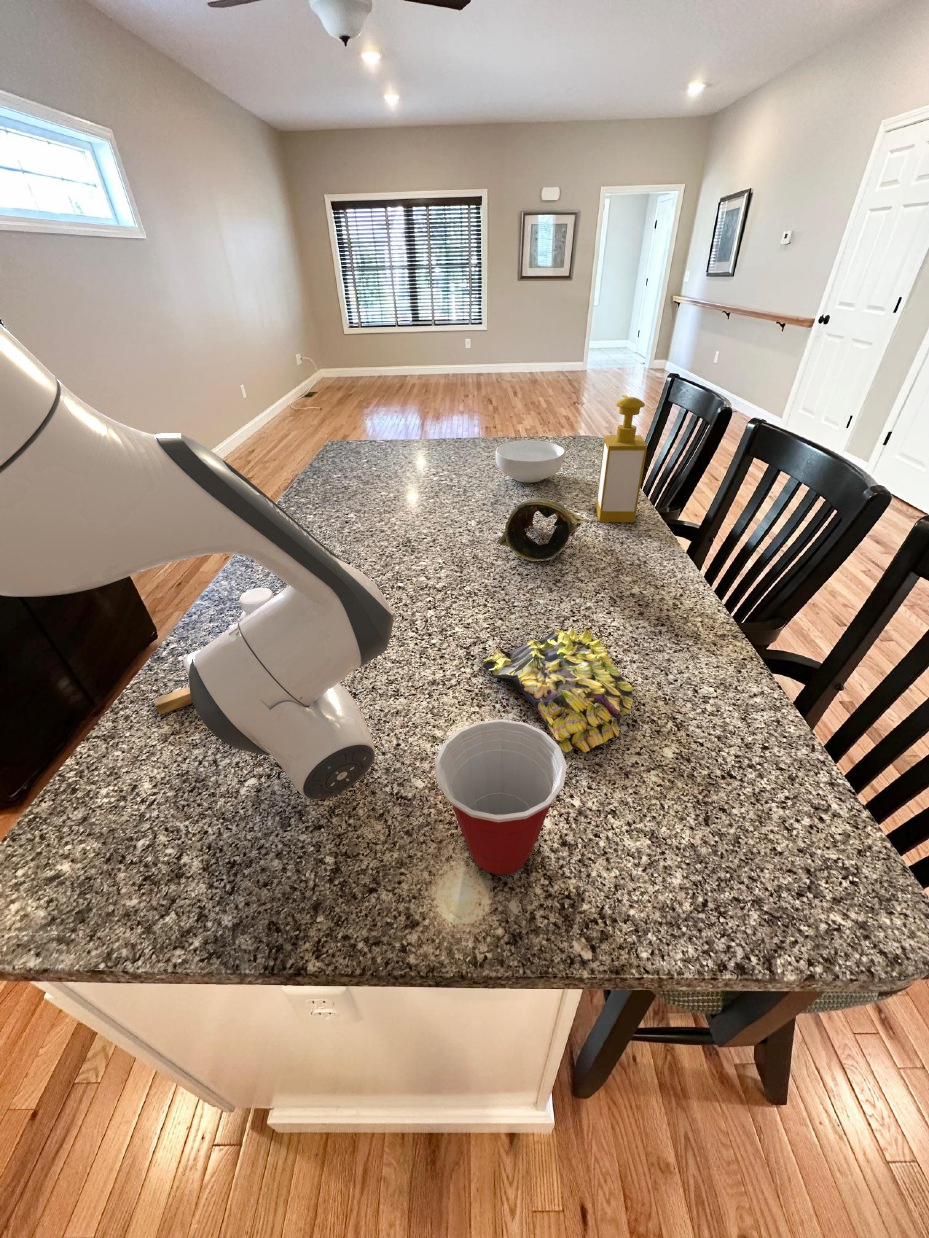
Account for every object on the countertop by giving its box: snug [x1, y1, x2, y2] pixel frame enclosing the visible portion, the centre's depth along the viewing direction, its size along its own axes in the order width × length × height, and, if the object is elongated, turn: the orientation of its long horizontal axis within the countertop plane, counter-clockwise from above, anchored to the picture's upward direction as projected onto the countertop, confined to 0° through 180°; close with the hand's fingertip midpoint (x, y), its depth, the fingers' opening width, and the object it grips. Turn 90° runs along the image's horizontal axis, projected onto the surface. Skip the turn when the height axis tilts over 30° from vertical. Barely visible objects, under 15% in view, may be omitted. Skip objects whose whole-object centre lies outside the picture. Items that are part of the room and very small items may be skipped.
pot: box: [495, 497, 590, 562], centre depth 97 cm, size 17×11×18 cm
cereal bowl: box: [495, 439, 566, 484], centre depth 128 cm, size 17×17×7 cm
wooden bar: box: [154, 686, 193, 715], centre depth 67 cm, size 10×2×2 cm, turn 122°
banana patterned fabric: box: [482, 628, 634, 753], centre depth 64 cm, size 20×16×6 cm
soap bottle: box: [595, 394, 648, 523], centre depth 105 cm, size 7×13×24 cm, turn 174°
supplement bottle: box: [239, 587, 275, 621], centre depth 67 cm, size 5×5×10 cm
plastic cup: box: [434, 718, 568, 876], centre depth 45 cm, size 11×11×12 cm
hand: (263, 620), depth 67 cm, fingers closed on supplement bottle, 5 cm apart
